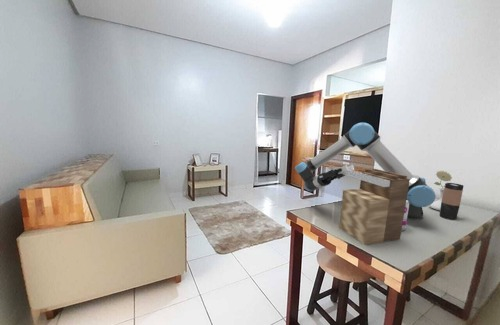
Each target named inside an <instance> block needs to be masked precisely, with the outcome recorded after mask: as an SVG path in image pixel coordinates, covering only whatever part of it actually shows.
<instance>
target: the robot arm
mask: <svg viewBox="0 0 500 325" xmlns="http://www.w3.org/2000/svg"><path fill="white" fill-rule="evenodd" d="M356 146H357V147H358V148H359V150H360V151H362V152H366V153H367V154H368V155H369V156H370V157H371V158H372V159H373V160H374V162H375V163H377V165H378V166H379V167H380V168H381V170H382V171H387V172H391V173H396V174H400V175H405V176H407V179H410V181H409V187H408V193H407V200H408V202H409V209H408V215H407V219H412V220H423V218H424V210H423V208H426V207H428V206H429V205H431V204H432V203H433V202H435V201H436V197H437V196H436V195H437V194H436V192H435V191H434V189H433V188H432V187H430V186H429V185H427V183H426V178H424V177H421V176H419V175H415V174H412V173H411V171H409V169H408V168H407V167H405V165H404V164H403V163H402V162H401V161H400V160H399V159H398V158H397V157H396V156H395V155H394V154H393V153H392V152H391V150H389V149H388V148H387V147H386V146H385V144H384V143H383V142H382V141H381V136H380V135H379V134H378V132H376V131H375V129H374V127H373V126H372V125H371V124H369V123H367V122H358V123H355V124H354V125H353V126H352V127H351V128H350V129H349V131H347V132H346V133H344V134H343V135H342V137H341V138H340V139H338V140H337V141H336V142H334V143H333V144H332V145H330V146H328V147H327V148H326V149H324V150H323V151H322V152H319V153H318V154H317V155H315V156H314V157H312V158H311V159H310V160H308V161H306V162H305V161H302V162H300V163H299V164H297V165H296V166H295V167H294V169H295V171H296V173H297V174H298V175H299V177H300V178H301V179H302V181H303V182H304V184H303V186H304V189H305V190H306V191H307V192H314V191H317V190H319V189H323V187H326V186H328V185H330V184H331V183H332V181H334V180H336V179H338V180H340V179H341V178H344V177H345V176H346V175H344V174H341V173H343V172H345V171H348V169H349V170H352V171H355V166H354V164H350V165H349V166H348V164H344V165H343V166H339V167H340V168H338V169H335V170H334V169H331V170H328V171H326V172H322V173H320V174H317V175H314V173H313V172H314V171H315V170H317V169H319V168H320V167H322V166H323V165H325V164H326V163H328V162H330V161H331V160H333V159H334V158H337V156H339V155H340V154H342V153H344V152H345V151H347V150H348V149H350V148H355V147H356ZM429 207H430V206H429Z"/></svg>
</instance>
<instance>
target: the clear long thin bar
mask: <svg viewBox="0 0 500 325" xmlns="http://www.w3.org/2000/svg"><path fill="white" fill-rule="evenodd" d="M340 167H341V166H333V170H335V169H338V168H340ZM341 174H344V175H345V176H348V177H351V178H354V179H357V180H360V181H361V180H363V181H366V182H369V183H372V184H376V185H379V186H382V187H389V185H390V181H389V180H386V179H382V178H378V177H375V176H371V175H367V174H364V173H362V172H360V171H355V170H353V171H352V170H349V169H348V171H345V172H343V173H341Z"/></svg>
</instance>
